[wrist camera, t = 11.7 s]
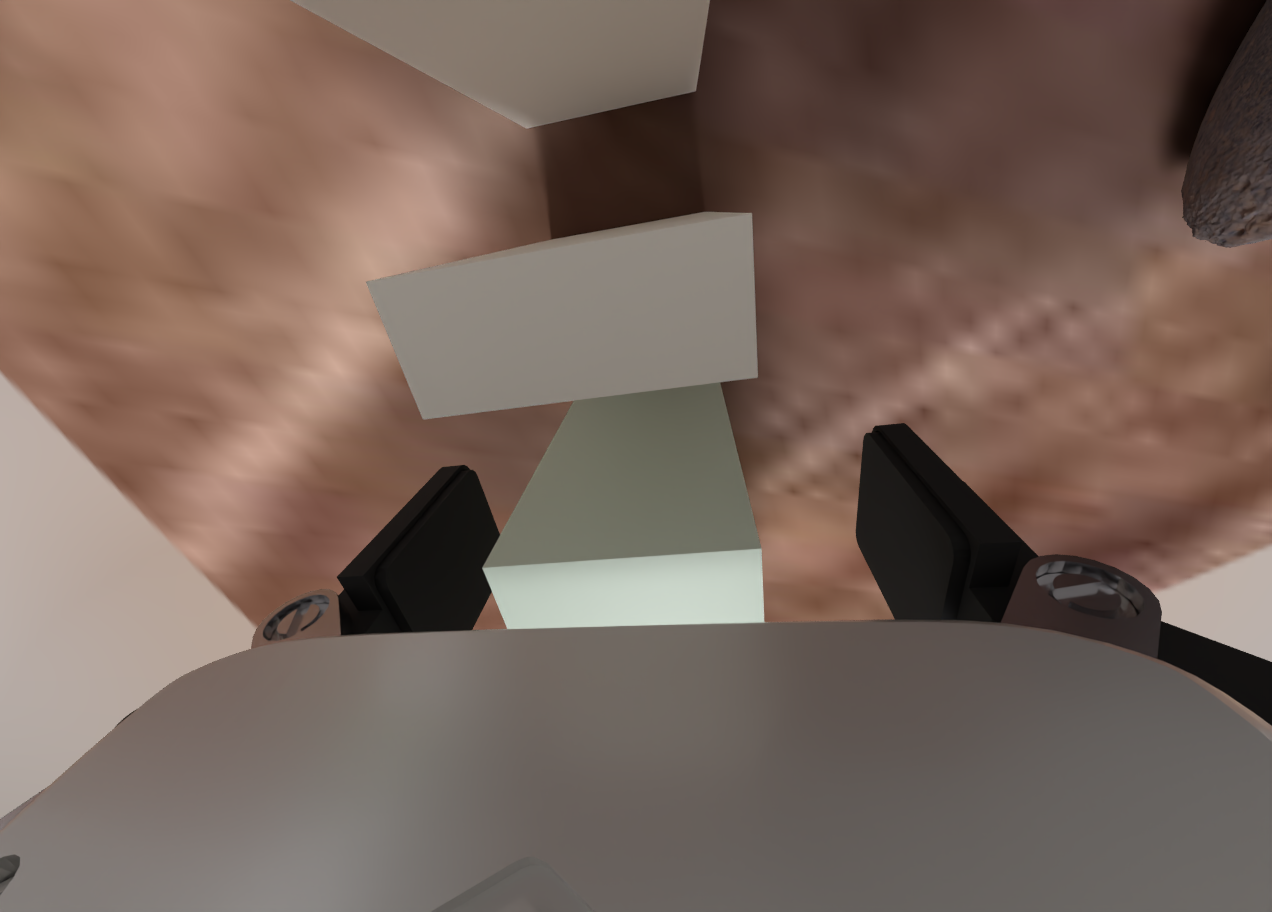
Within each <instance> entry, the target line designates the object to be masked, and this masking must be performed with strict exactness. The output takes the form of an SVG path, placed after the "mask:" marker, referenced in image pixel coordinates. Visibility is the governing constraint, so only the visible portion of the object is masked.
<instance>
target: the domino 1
mask: <svg viewBox="0 0 1272 912" xmlns="http://www.w3.org/2000/svg"><path fill="white" fill-rule="evenodd" d="M290 1H292V2H294V3H296V4H298V5H300V6H301V7H303V8H305V9H307V10H309V11H311V12H313V13H314V14H316V15H318V16H320V17H322V18H324V19H325V20H327V21H329V22H331V23H333V24H335V25H336V26H338V27H340V28H342V29H344V30H346V31H348V32H349V33H351V34H353V35H355V36H357V37H359V38H360V39H362V40H364V41H366V42H368V43H370V44H371V45H373V46H375V47H377V48H379V49H381V50H383V51H384V52H386V53H388V54H390V55H392V56H394V57H395V58H397V59H399V60H401V61H403V62H405V63H406V64H408V65H410V66H412V67H414V68H416V69H418V70H419V71H421V72H423V73H425V74H427V75H429V76H430V77H432V78H434V79H436V80H438V81H440V82H441V83H443V84H445V85H447V86H449V87H451V88H453V89H454V90H456V91H458V92H460V93H462V94H464V95H465V96H467V97H469V98H471V99H473V100H475V101H476V102H478V103H480V104H482V105H484V106H486V107H488V108H489V109H491V110H493V111H495V112H497V113H499V114H500V115H502V116H504V117H506V118H508V119H510V120H511V121H513V122H515V123H517V124H519V125H521V126H523V127H524V128H526V129H527V128H532V127H536V126H541V125H545V124H550V123H555V122H559V121H564V120H568V119H573V118H577V117H582V116H586V115H591V114H595V113H600V112H604V111H609V110H613V109H618V108H622V107H627V106H632V105H636V104H641V103H645V102H650V101H654V100H659V99H663V98H668V97H672V96H677V95H681V94H686V93H690V92H695V91H696V88H697V81H698V75H699V68H700V62H701V55H702V49H703V42H704V36H705V29H706V23H707V16H708V10H709V3H710V0H290Z"/></svg>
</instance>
